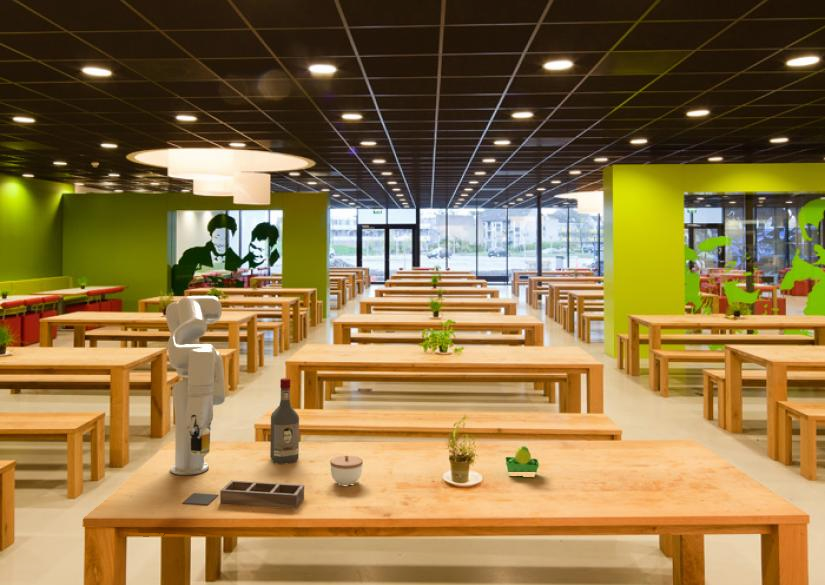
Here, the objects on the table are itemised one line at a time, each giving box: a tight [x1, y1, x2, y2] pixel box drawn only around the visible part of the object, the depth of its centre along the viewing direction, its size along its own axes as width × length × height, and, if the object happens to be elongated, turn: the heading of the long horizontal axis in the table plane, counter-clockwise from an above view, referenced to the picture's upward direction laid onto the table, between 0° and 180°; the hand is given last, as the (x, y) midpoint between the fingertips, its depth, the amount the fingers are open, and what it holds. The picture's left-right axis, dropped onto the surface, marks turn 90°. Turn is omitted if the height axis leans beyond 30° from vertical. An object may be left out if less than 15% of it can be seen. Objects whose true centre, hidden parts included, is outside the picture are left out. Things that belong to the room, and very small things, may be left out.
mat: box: [182, 492, 219, 506], centre depth 207 cm, size 8×8×1 cm
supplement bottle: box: [191, 425, 211, 456], centre depth 207 cm, size 5×5×10 cm
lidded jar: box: [329, 454, 364, 486], centre depth 225 cm, size 11×11×9 cm
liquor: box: [269, 377, 300, 465], centre depth 247 cm, size 9×9×30 cm
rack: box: [219, 480, 305, 510], centre depth 207 cm, size 9×24×4 cm, turn 84°
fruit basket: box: [504, 445, 540, 473], centre depth 237 cm, size 11×9×11 cm
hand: (200, 446), depth 207 cm, fingers closed on supplement bottle, 5 cm apart
